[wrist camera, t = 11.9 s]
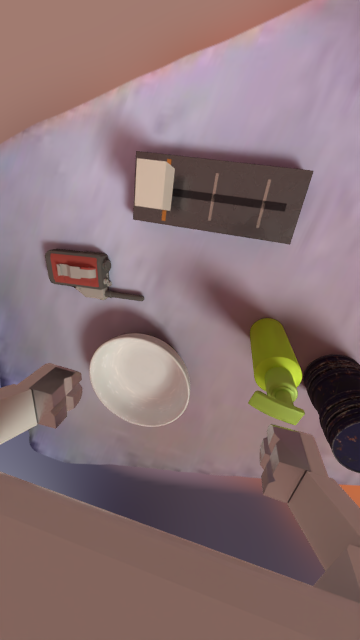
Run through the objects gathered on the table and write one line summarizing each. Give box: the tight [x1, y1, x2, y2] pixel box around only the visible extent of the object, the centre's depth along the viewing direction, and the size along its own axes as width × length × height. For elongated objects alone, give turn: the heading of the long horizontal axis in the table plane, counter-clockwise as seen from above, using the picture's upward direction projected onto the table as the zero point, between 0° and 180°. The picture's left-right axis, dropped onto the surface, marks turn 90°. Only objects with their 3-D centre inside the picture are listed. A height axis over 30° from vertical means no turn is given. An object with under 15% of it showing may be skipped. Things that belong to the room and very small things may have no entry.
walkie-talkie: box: [45, 249, 144, 301], centre depth 44 cm, size 9×4×20 cm
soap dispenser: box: [248, 318, 305, 425], centre depth 33 cm, size 6×7×20 cm
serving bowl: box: [89, 333, 190, 427], centre depth 48 cm, size 21×21×7 cm
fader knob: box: [135, 158, 175, 211], centre depth 31 cm, size 4×5×7 cm
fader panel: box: [133, 151, 313, 244], centre depth 34 cm, size 24×9×3 cm, turn 82°
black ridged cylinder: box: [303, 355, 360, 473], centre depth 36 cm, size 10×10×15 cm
